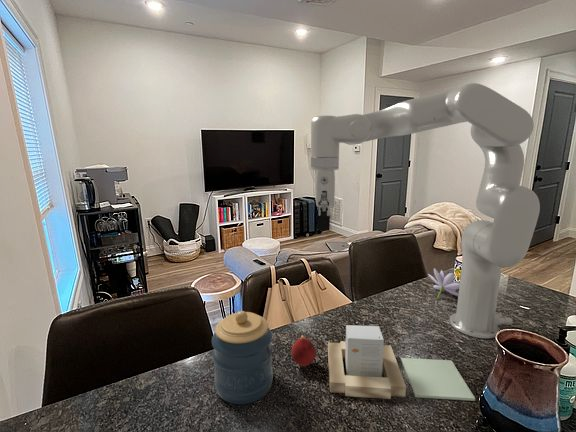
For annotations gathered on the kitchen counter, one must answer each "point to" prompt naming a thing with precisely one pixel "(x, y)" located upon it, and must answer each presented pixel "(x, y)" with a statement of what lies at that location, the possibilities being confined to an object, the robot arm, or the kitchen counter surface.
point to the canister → (242, 358)
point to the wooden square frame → (362, 384)
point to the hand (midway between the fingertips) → (323, 225)
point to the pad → (436, 379)
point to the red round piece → (303, 351)
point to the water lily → (445, 282)
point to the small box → (364, 351)
